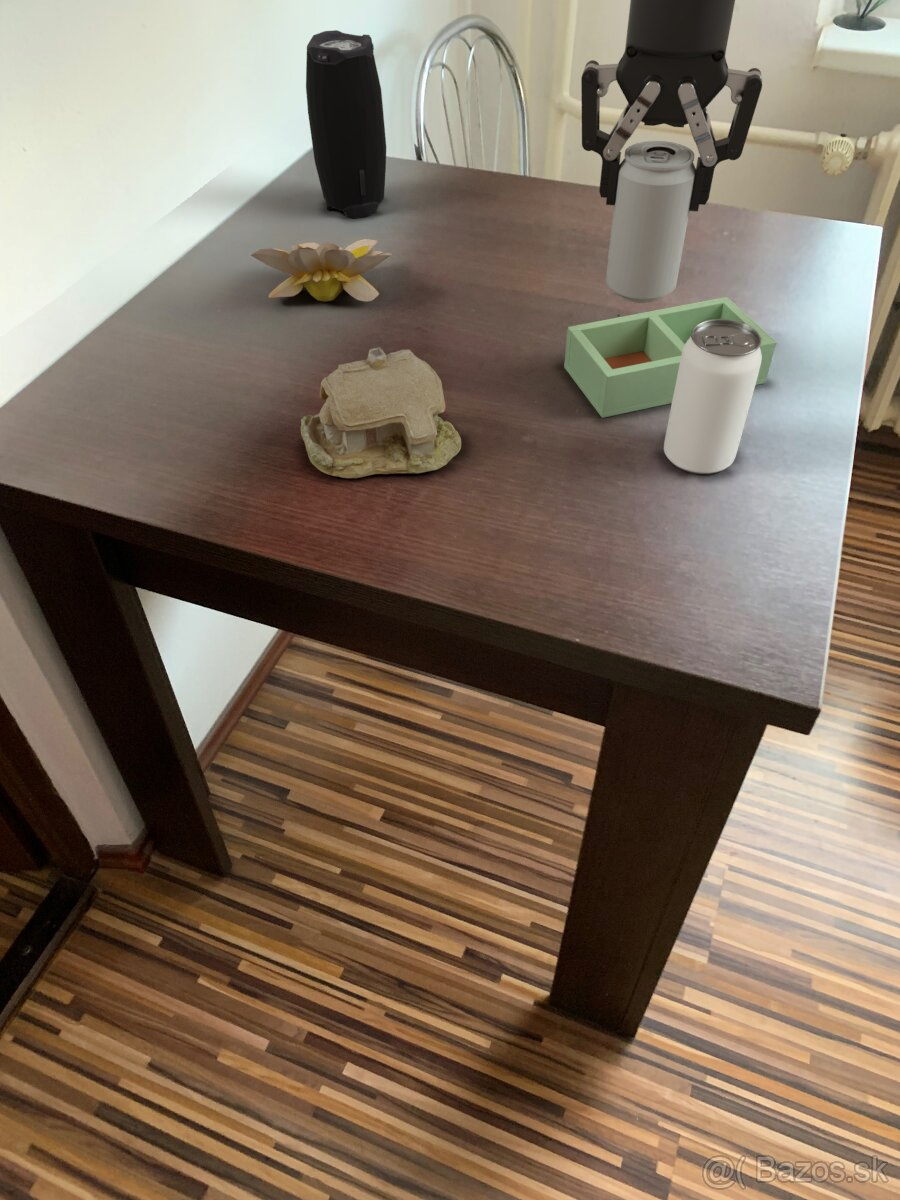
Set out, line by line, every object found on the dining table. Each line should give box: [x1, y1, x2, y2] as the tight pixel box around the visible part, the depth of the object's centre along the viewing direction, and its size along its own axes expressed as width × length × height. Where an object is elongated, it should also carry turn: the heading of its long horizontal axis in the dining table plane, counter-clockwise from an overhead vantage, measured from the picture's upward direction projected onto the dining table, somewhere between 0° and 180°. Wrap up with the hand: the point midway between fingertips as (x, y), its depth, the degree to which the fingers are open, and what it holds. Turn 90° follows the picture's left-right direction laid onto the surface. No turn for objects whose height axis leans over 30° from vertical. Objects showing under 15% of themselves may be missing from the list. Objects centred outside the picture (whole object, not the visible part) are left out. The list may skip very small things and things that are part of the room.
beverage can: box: [605, 140, 696, 304], centre depth 77 cm, size 6×6×12 cm
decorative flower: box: [250, 238, 392, 303], centre depth 99 cm, size 15×11×10 cm
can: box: [663, 319, 762, 475], centre depth 76 cm, size 6×6×12 cm
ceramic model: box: [300, 346, 462, 479], centre depth 79 cm, size 14×11×10 cm
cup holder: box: [563, 296, 777, 419], centre depth 88 cm, size 9×18×5 cm, turn 108°
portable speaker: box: [305, 29, 387, 219], centre depth 111 cm, size 9×9×20 cm
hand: (652, 204), depth 76 cm, fingers closed on beverage can, 6 cm apart
